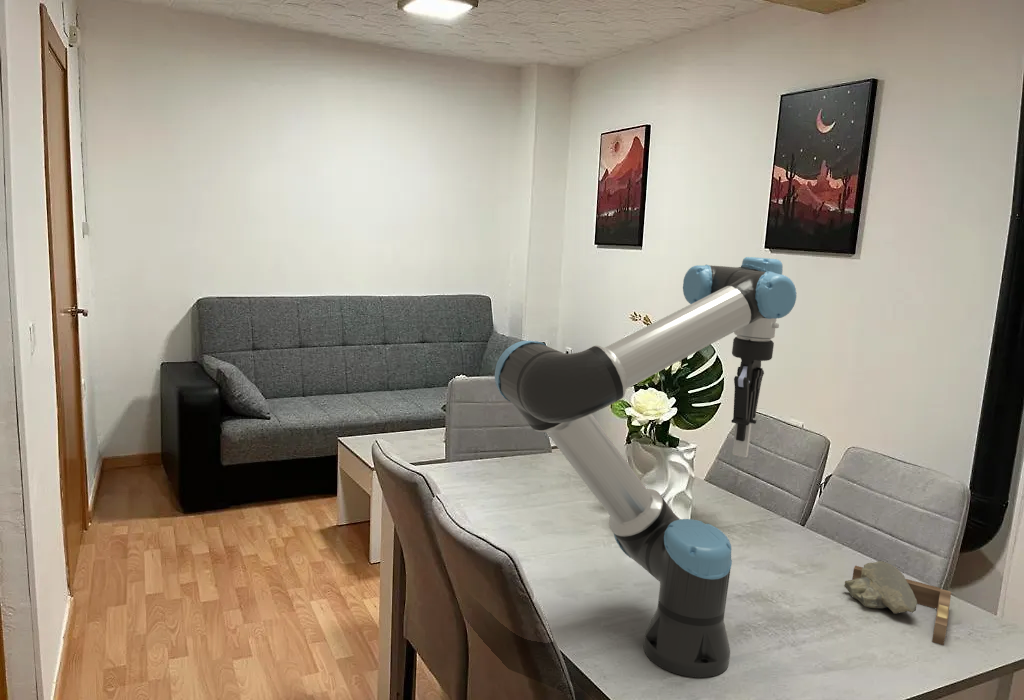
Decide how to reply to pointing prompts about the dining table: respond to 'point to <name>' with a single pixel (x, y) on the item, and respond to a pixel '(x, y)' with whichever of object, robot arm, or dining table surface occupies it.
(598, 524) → the dining table surface
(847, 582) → the jagged rock
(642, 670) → the dining table surface
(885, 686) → the dining table surface
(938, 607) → the brown wooden l-shaped piece
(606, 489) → the robot arm
